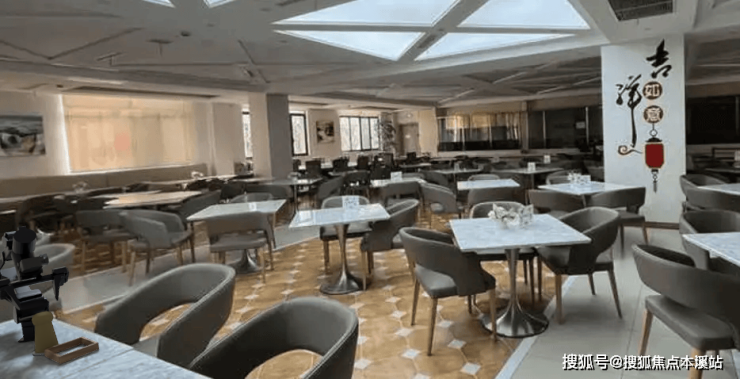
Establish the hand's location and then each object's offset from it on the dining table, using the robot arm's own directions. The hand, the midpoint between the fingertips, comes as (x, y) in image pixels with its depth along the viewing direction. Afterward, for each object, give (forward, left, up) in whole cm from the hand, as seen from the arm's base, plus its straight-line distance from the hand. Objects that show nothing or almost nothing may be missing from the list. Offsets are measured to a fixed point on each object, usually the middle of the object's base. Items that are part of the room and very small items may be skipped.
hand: (39, 304), depth 139 cm
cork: (+1, +1, -13) cm, 13 cm away
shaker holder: (+7, +9, -14) cm, 18 cm away
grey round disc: (+1, +1, -14) cm, 14 cm away
